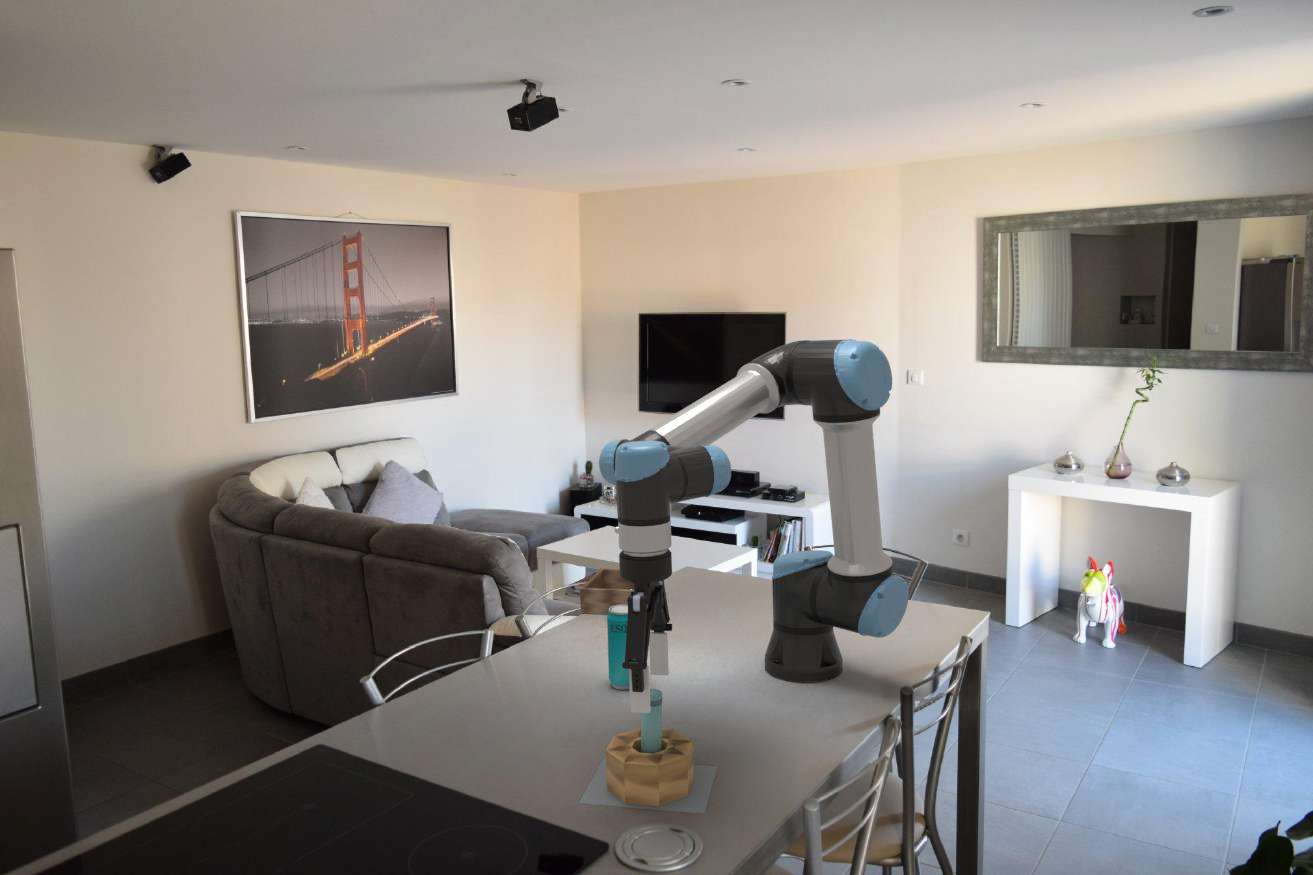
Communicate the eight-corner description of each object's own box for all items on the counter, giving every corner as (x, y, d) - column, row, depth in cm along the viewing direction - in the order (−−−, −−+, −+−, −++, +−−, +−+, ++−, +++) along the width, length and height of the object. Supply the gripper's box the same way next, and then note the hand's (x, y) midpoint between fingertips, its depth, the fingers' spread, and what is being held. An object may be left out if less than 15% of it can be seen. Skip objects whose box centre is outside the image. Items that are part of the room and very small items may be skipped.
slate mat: (717, 768, 142) (717, 766, 142) (704, 816, 129) (704, 813, 129) (603, 760, 146) (603, 758, 146) (578, 805, 132) (578, 803, 132)
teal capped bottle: (663, 779, 139) (664, 689, 137) (659, 789, 136) (660, 697, 134) (642, 777, 139) (643, 687, 137) (638, 787, 136) (639, 695, 134)
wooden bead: (697, 768, 142) (696, 730, 141) (684, 808, 130) (683, 767, 130) (620, 762, 144) (619, 725, 144) (600, 801, 133) (599, 761, 132)
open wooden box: (658, 593, 237) (657, 570, 236) (642, 616, 218) (641, 591, 218) (601, 591, 240) (600, 568, 239) (580, 613, 221) (579, 589, 221)
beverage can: (635, 691, 173) (633, 613, 171) (605, 690, 174) (603, 612, 173) (642, 680, 179) (640, 604, 177) (613, 678, 180) (611, 603, 178)
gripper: (638, 529, 146) (643, 659, 149) (597, 573, 122) (604, 727, 125) (685, 529, 145) (689, 661, 147) (653, 574, 120) (659, 730, 123)
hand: (650, 692), depth 136 cm, fingers open, 13 cm apart
